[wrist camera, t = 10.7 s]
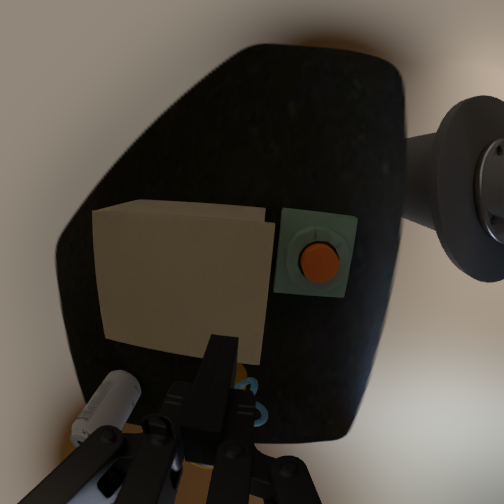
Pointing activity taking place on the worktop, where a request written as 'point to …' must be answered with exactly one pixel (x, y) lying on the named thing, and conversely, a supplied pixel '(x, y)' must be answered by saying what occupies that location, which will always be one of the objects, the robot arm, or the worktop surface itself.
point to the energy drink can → (107, 405)
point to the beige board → (182, 280)
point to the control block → (303, 235)
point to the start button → (319, 263)
